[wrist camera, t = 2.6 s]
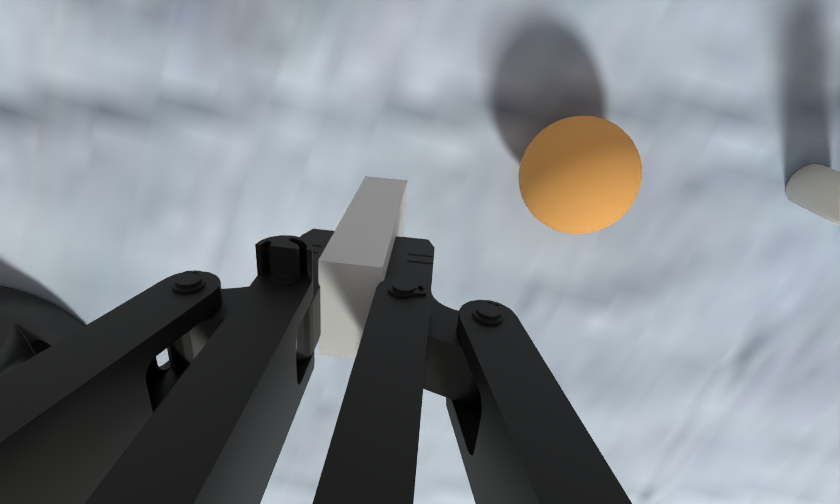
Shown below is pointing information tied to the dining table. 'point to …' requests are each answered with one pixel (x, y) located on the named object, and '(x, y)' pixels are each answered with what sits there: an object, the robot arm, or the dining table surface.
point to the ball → (580, 174)
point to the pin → (816, 191)
